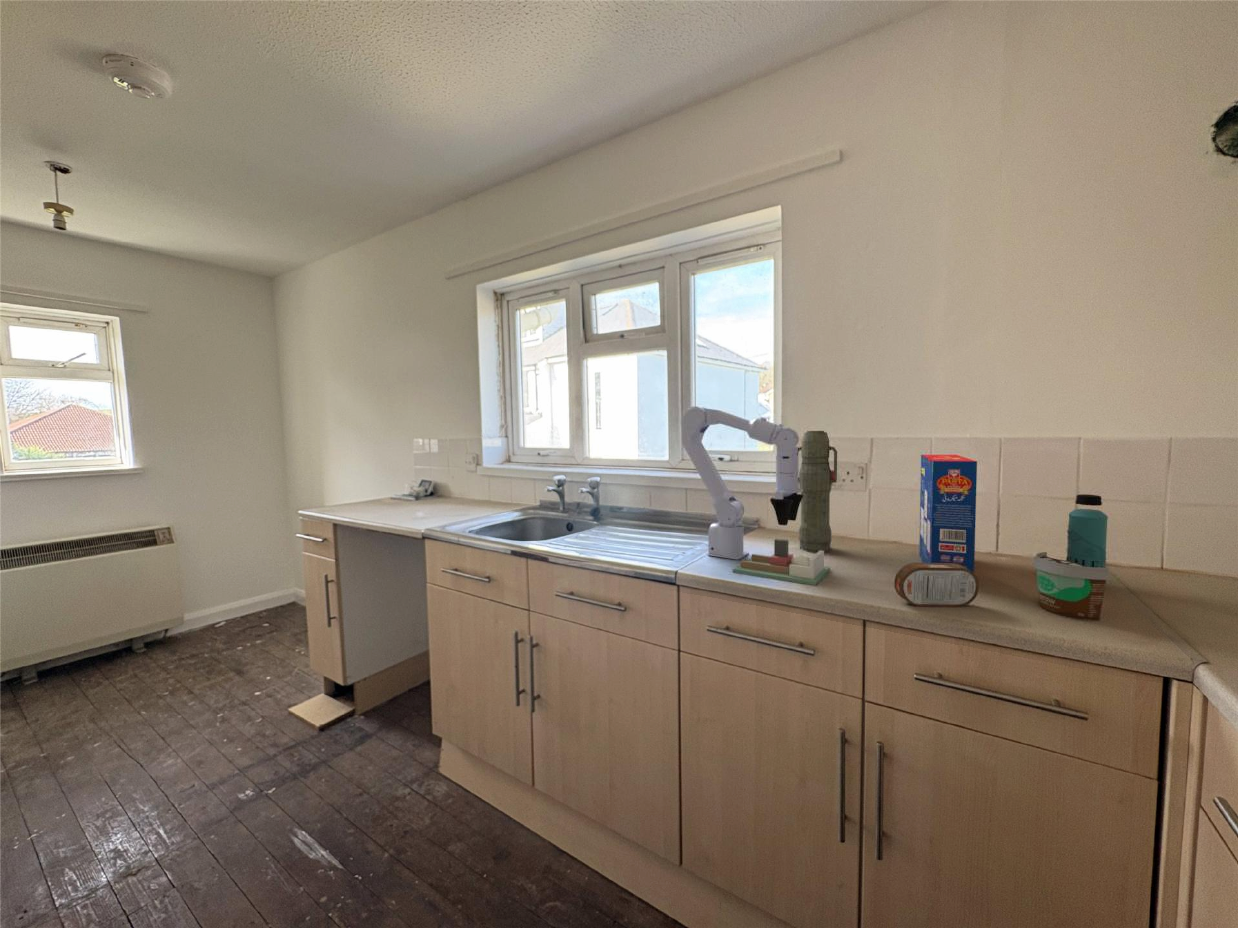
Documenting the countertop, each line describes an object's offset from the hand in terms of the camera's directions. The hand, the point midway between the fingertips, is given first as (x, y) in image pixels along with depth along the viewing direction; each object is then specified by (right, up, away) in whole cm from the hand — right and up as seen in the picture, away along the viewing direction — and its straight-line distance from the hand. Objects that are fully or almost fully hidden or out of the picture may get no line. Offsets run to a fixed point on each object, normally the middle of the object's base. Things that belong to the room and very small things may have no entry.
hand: (787, 522), depth 131 cm
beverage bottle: (+58, -11, -24) cm, 63 cm away
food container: (+38, -12, -39) cm, 56 cm away
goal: (0, -11, -13) cm, 17 cm away
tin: (+18, -13, -34) cm, 41 cm away
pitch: (-5, -11, -9) cm, 15 cm away
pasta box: (+35, -11, -10) cm, 38 cm away
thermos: (+13, -10, +13) cm, 20 cm away
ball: (-1, -8, -12) cm, 15 cm away
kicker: (-5, -11, -9) cm, 15 cm away
